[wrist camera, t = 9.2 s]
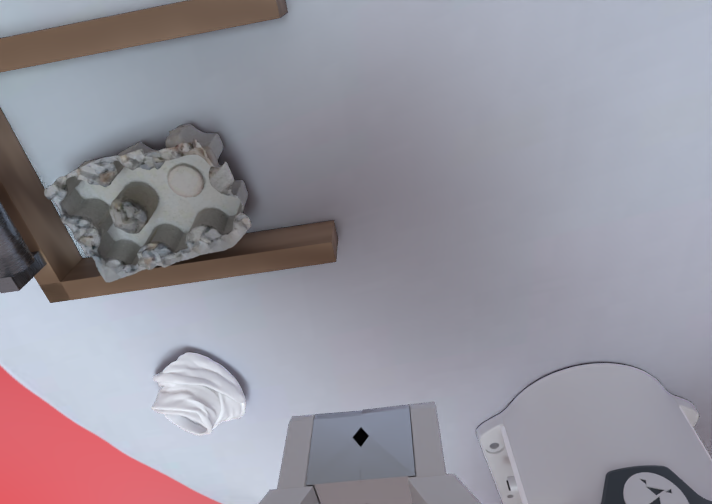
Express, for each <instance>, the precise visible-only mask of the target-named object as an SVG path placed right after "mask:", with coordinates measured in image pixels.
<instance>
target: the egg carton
mask: <svg viewBox="0 0 712 504" xmlns="http://www.w3.org/2000/svg"><path fill="white" fill-rule="evenodd" d="M169 132H170V134H169V136H168V137H167V138H166V141H165V146H166V148H164V149H161V150H159V151H157V150H153V149H151V148H149V147H148V146H146V145H144V144H143V143H141V142H138V143H137V144H135V145H133V146H131V147H129V148H127V149H126V150H124V151H122V152H120V153H119V154H118V155H115V156H110V157H105V158H100V159H98V160H96V161H95V160H91V161H85V162H84V163H83V164H82V165H81V166H79V168H78V169H76V170H74V171H72V172H70V173H69V174H68V175H66V176H64V177H59V178H58V179H57V180H56V181H55V182H54V184H52V185H51V186H49V187H48V188H46V189H45V190H44V195H45V196H46V198H47V199H49V200H53V201H54V202H55V204H56V205H57V206H58V208H59V210H60V213H61V216H60V217H61V221H62V223H64V224H65V225H67V226H69V227H70V229H71V230H72V232H73V235H74V238H75V239H76V240H77V241H78V242H79V243H80V245H81V247H82V249H83V251H84V252H85V255H86V256H90V257H92V258H93V259H94V261H95V264H96V267H97V269H98V271H99V273H100V274H101V276H102V277H103V279H104V280H105V282H112V281H115V280H118V279H121V278H124V277H127V276H130V275H133V274H136V273H137V272H139V271H141V270H145V269H148V270H151V269H153V268H155V267H156V266H162V267H164V268H165V267H167V266H170V265H172V264H174V263H177V262H180V261H183V260H188V259H192V258H194V257H197V256H199V255H203V254H209V253H214V252H219V251H224V250H227V249H229V248H231V247H233V246H234V245H235V244H237V243H238V242H239V240H240V239H241V238H242V237H243V236H244V234H245V233H246V232H247V231H248V230H249V228H250V227H251V221H250V219H249V218H248V217H247V216H246V215H245V214H243V210H244V206H245V204H246V201H247V198H248V192H247V189H246V187H245V183H244V181H243V180H234V178H233V175H232V173H231V171H230V168H229V166H228V164H227V162H224V164H222V165H219V163H218V159H219V156H220V154H221V152H222V150H223V148H224V147H223V143H222V141H221V139H220V137H219V135H218V134H217V133H204V132H201V131H200V130H198V129H196V128H195V127H194V126H193V125H190V124H185V125H181V126H179V127H177V128H176V129H174V130H171V131H169Z"/></svg>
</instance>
